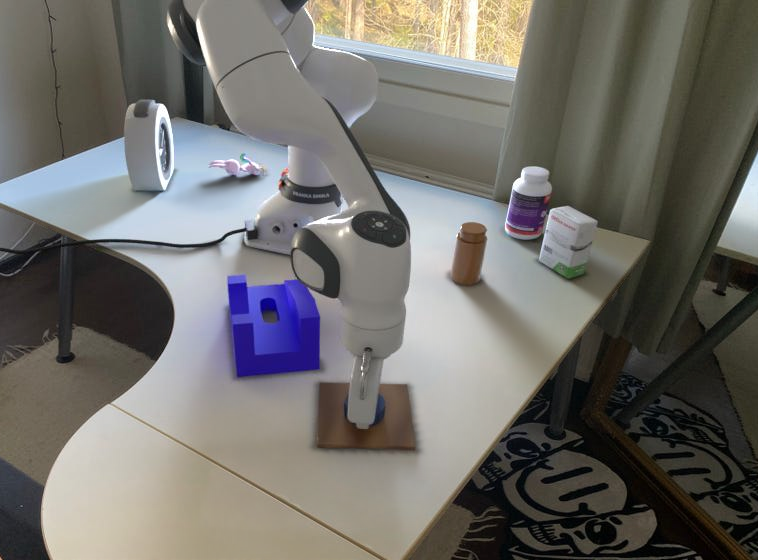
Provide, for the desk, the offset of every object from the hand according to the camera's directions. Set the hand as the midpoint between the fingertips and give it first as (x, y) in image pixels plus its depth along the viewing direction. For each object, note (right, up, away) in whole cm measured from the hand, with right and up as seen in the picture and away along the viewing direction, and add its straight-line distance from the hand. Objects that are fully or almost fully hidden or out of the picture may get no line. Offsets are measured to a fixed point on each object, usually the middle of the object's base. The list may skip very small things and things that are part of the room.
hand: (366, 404), depth 100 cm
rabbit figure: (-27, +55, +76) cm, 97 cm away
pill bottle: (+39, +35, +49) cm, 72 cm away
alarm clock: (-48, +53, +73) cm, 102 cm away
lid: (0, 0, 0) cm, 1 cm away
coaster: (0, -2, +1) cm, 2 cm away
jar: (+23, +23, +33) cm, 47 cm away
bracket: (-15, +11, +18) cm, 26 cm away
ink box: (+43, +26, +37) cm, 62 cm away
